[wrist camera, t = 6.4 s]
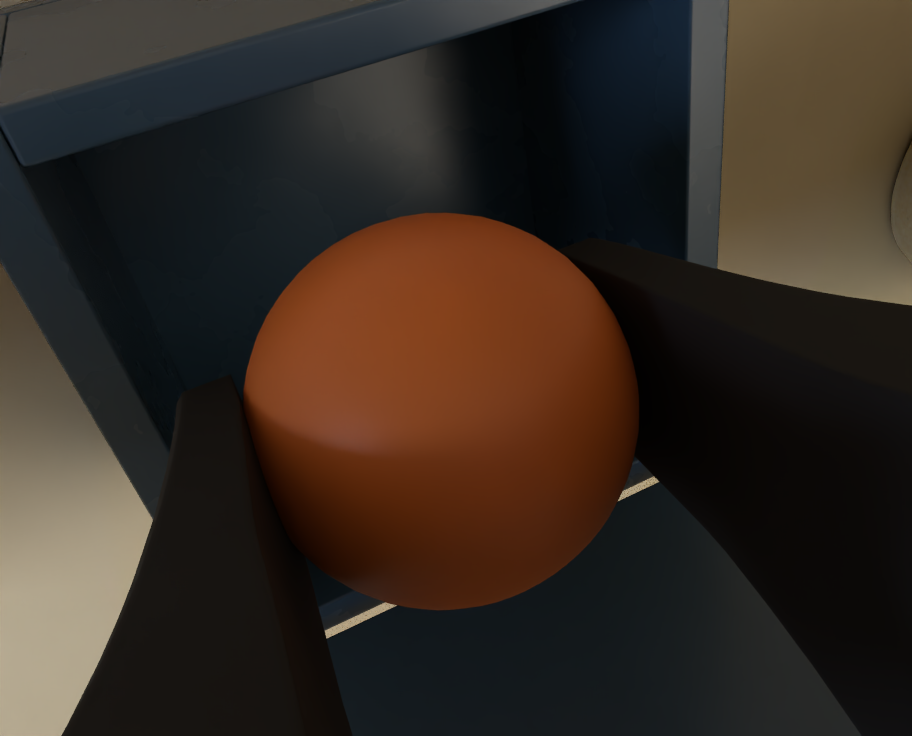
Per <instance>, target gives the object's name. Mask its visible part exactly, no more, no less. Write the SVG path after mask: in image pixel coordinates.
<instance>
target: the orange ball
mask: <svg viewBox="0 0 912 736" xmlns="http://www.w3.org/2000/svg"><path fill="white" fill-rule="evenodd" d="M243 410H244V413H245V416H246V419H247V422H248V426H249V430H250V433H251V437H252V440H253V444H254V447H255V450H256V454H257V457H258V460H259V463H260V466H261V469H262V472H263V475H264V478H265V481H266V484H267V487H268V490H269V492H270V495H271V498H272V500H273V503H274V505H275V508H276V510H277V513H278V515H279V517H280V520H281V522H282V525H283V527H284V529H285V531H286V533H287V535H288V537H289V539H290V540H291V542H292V543H293V544H294V546H295V547H296V548H297V549H298V550H299V551H300V552H301V553H302V554H303V555H304V556H306V557H307V558H308V559H309V560H310V561H311V562H312V563H313V564H315V565H316V566H317V567H318V568H319V569H321V570H322V571H323V572H324V573H326V574H327V575H329V576H331V577H332V578H334V579H336V580H337V581H339V582H341V583H342V584H344V585H346V586H348V587H349V588H351V589H353V590H355V591H356V592H359V593H362V594H364V595H367V596H370V597H372V598H375V599H378V600H381V601H384V602H386V603H389V604H394V605H399V606H403V607H410V608H417V609H427V610H455V609H464V608H471V607H478V606H484V605H488V604H492V603H496V602H499V601H502V600H505V599H508V598H511V597H513V596H515V595H518V594H520V593H522V592H524V591H527V590H528V589H530V588H532V587H534V586H536V585H538V584H540V583H541V582H543V581H544V580H546V579H548V578H549V577H551V576H552V575H554V574H555V573H556V572H558V571H559V570H560V569H562V568H563V567H564V566H566V565H567V564H568V563H569V562H570V561H572V560H573V559H574V558H575V557H576V556H577V555H578V554H579V553H580V552H581V551H582V550H583V549H584V548H585V547H586V546H587V545H588V544H589V543H590V542H591V541H592V540H593V538H594V537H595V536H596V535H597V533H598V532H599V531H600V530H601V528H602V527H603V525H604V524H605V522H606V521H607V520H608V518H609V516H610V515H611V513H612V511H613V509H614V507H615V506H616V504H617V502H618V499H619V497H620V495H621V493H622V491H623V489H624V486H625V484H626V482H627V480H628V476H629V473H630V470H631V467H632V463H633V459H634V454H635V449H636V443H637V438H638V432H639V393H638V383H637V378H636V373H635V368H634V364H633V360H632V356H631V353H630V349H629V346H628V343H627V341H626V339H625V336H624V334H623V332H622V329H621V327H620V325H619V323H618V321H617V319H616V317H615V315H614V313H613V311H612V310H611V308H610V307H609V305H608V304H607V302H606V301H605V299H604V298H603V296H602V295H601V294H600V292H599V291H598V289H597V288H596V287H595V285H594V284H593V283H592V282H591V281H590V280H589V279H588V278H587V277H586V276H585V275H584V274H583V273H582V272H581V271H580V270H579V269H578V268H577V267H576V266H575V265H574V264H573V263H572V262H571V261H570V260H569V259H568V258H567V257H566V256H564V255H563V254H561V253H560V252H558V251H557V250H556V249H554V248H553V247H551V246H550V245H548V244H547V243H545V242H543V241H542V240H540V239H539V238H537V237H536V236H534V235H532V234H529V233H527V232H525V231H523V230H521V229H518V228H516V227H514V226H511V225H508V224H505V223H503V222H499V221H496V220H492V219H488V218H485V217H481V216H473V215H465V214H456V213H422V214H415V215H408V216H402V217H398V218H395V219H391V220H388V221H384V222H381V223H377V224H374V225H371V226H369V227H366V228H364V229H362V230H359V231H357V232H355V233H352V234H351V235H349V236H347V237H345V238H344V239H342V240H340V241H338V242H336V243H335V244H333V245H332V246H330V247H329V248H328V249H326V250H325V251H323V252H322V253H321V254H319V255H318V256H317V257H315V258H314V259H313V260H312V261H311V262H310V263H309V264H308V265H307V266H306V267H304V268H303V269H302V270H301V271H300V272H299V273H298V274H297V275H296V276H295V278H294V279H293V280H292V281H291V282H290V284H289V285H288V286H287V287H286V288H285V290H284V291H283V292H282V293H281V295H280V296H279V298H278V299H277V301H276V302H275V304H274V305H273V307H272V308H271V310H270V312H269V313H268V315H267V316H266V318H265V320H264V323H263V325H262V327H261V329H260V331H259V333H258V335H257V338H256V341H255V344H254V347H253V350H252V354H251V357H250V360H249V364H248V367H247V371H246V378H245V384H244V390H243Z"/></svg>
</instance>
